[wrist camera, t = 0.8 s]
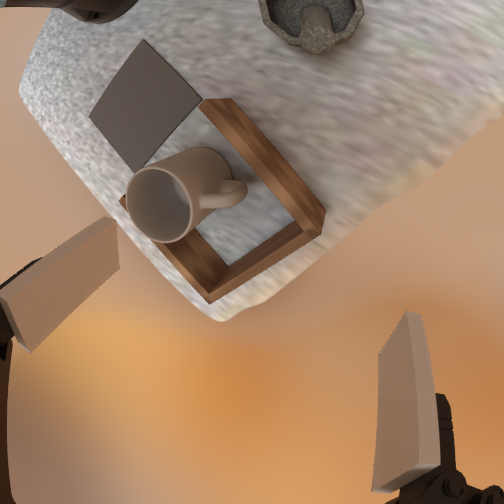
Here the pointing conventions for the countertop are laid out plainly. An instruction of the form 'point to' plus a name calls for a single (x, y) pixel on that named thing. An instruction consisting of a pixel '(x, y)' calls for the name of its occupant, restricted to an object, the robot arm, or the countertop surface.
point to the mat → (143, 106)
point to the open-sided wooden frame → (283, 187)
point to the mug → (181, 193)
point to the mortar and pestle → (312, 21)
